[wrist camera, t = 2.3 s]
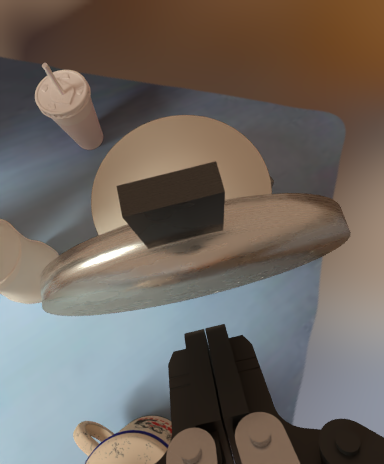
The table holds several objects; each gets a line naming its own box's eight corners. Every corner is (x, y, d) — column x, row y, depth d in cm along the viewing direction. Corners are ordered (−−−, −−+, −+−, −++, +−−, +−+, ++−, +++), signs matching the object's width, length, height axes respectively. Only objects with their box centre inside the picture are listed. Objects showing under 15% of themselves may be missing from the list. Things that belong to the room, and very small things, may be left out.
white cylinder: (91, 249, 44) (55, 222, 35) (171, 136, 48) (159, 84, 39) (213, 325, 40) (210, 319, 30) (289, 195, 44) (308, 153, 35)
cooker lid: (300, 255, 31) (305, 270, 31) (102, 304, 32) (104, 320, 31) (472, 89, 10) (497, 132, 10) (-142, 242, 10) (-145, 291, 10)
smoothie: (81, 166, 48) (27, 97, 35) (61, 134, 50) (3, 57, 37) (120, 142, 49) (83, 66, 35) (99, 111, 51) (56, 28, 37)
